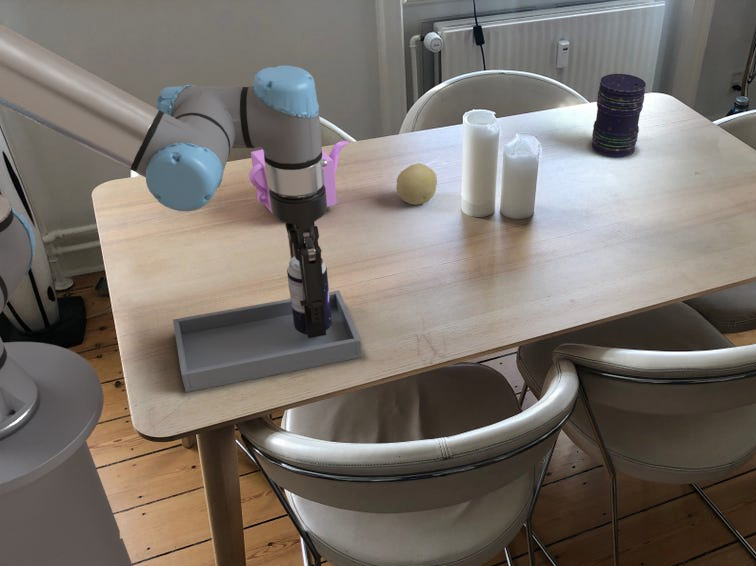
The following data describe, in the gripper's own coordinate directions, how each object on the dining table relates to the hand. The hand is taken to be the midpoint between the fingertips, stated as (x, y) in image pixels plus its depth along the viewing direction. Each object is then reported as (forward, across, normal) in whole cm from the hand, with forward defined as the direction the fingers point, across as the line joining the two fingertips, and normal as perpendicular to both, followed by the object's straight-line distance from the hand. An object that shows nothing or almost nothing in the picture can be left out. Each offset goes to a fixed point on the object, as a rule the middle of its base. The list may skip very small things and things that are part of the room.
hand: (312, 322), depth 127 cm
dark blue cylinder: (+3, +47, -77) cm, 90 cm away
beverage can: (+1, 0, 0) cm, 1 cm away
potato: (+3, +36, -28) cm, 46 cm away
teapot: (+3, +41, -7) cm, 42 cm away
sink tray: (+3, 0, +7) cm, 8 cm away
